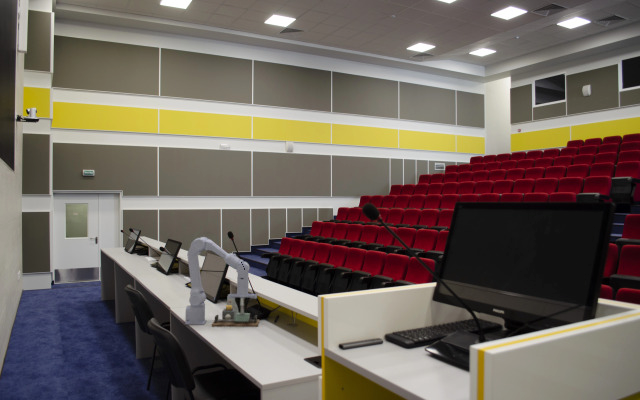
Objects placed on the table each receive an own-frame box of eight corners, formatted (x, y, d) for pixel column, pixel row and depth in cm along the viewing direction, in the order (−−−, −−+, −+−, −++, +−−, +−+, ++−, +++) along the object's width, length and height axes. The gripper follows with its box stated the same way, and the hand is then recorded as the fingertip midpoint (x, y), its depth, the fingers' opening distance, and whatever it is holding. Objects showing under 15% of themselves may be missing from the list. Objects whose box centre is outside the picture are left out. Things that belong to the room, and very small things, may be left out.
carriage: (234, 321, 231) (234, 307, 231) (236, 317, 238) (236, 304, 238) (248, 321, 231) (248, 307, 231) (249, 317, 238) (250, 304, 238)
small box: (243, 313, 256) (244, 294, 256) (240, 315, 251) (241, 296, 251) (229, 312, 257) (230, 294, 257) (226, 315, 252) (227, 296, 252)
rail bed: (211, 326, 229) (211, 318, 229) (215, 321, 239) (215, 313, 239) (257, 326, 230) (257, 318, 230) (259, 321, 240) (259, 313, 240)
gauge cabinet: (222, 321, 239) (222, 311, 239) (223, 317, 246) (224, 308, 246) (233, 321, 240) (233, 311, 240) (235, 317, 246) (235, 308, 246)
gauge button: (225, 310, 241) (225, 306, 241) (226, 308, 244) (226, 304, 244) (231, 310, 241) (231, 306, 241) (232, 308, 245) (232, 305, 245)
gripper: (227, 287, 230) (226, 314, 230) (256, 287, 231) (255, 314, 231) (229, 284, 237) (228, 310, 237) (257, 284, 238) (256, 310, 238)
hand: (242, 312), depth 234 cm, fingers closed on carriage, 2 cm apart
